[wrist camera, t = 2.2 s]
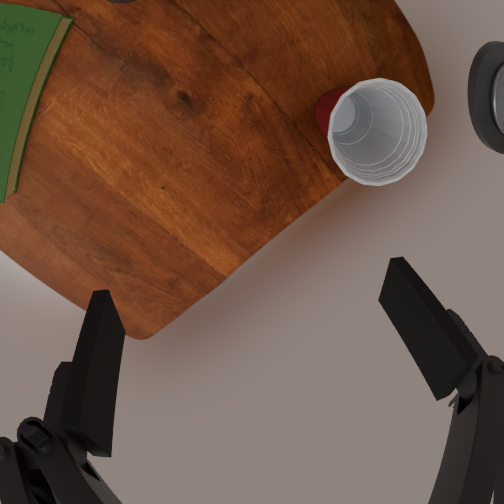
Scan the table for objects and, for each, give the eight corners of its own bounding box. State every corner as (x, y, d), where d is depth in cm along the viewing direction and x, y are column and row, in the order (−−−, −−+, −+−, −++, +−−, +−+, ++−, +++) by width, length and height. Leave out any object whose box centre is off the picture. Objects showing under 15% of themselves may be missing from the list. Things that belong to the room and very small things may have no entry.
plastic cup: (288, 73, 32) (326, 78, 22) (369, 71, 32) (428, 80, 23) (297, 157, 38) (333, 195, 28) (371, 148, 39) (423, 181, 29)
